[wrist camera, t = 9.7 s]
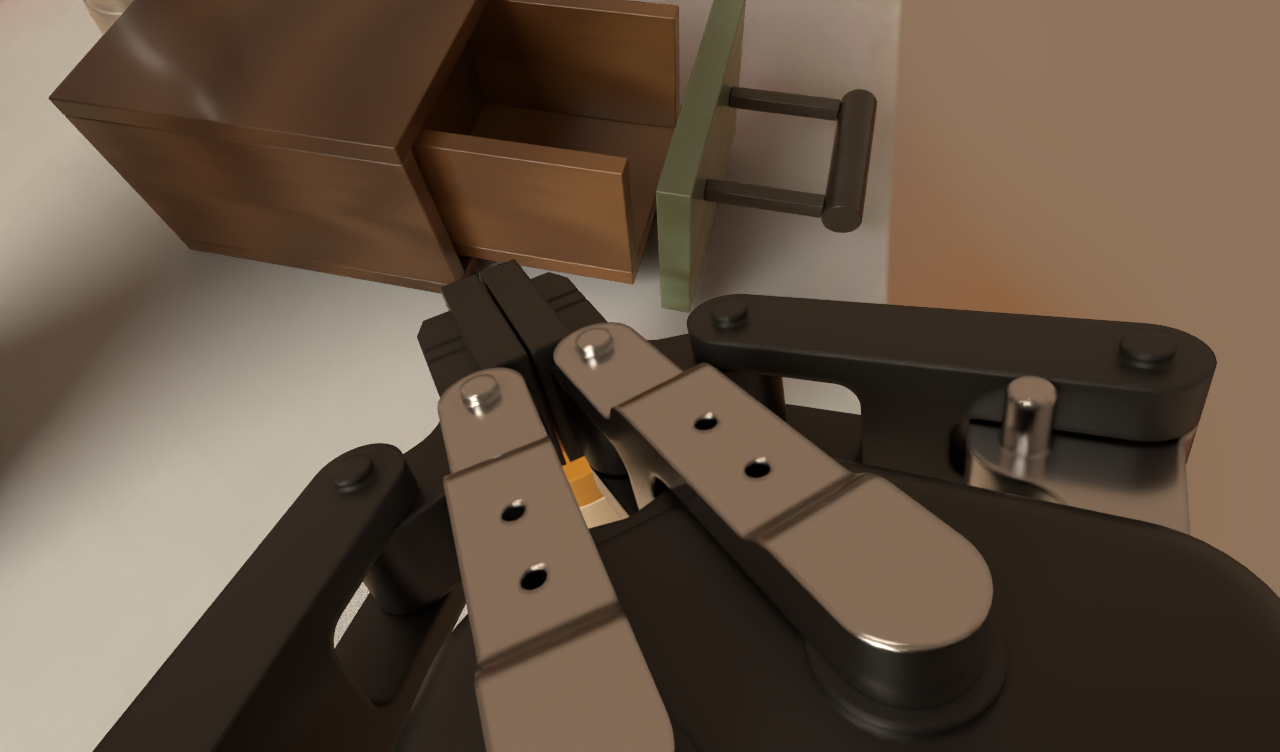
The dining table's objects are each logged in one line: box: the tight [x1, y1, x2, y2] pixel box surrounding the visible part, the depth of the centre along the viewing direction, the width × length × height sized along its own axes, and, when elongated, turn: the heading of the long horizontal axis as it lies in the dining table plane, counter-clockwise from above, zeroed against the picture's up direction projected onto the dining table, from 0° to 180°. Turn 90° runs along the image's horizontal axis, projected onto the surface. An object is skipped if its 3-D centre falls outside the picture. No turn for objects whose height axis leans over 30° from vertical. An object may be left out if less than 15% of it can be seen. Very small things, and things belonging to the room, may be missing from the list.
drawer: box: [411, 0, 877, 312], centre depth 29 cm, size 18×10×7 cm, turn 76°
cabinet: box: [49, 0, 489, 293], centre depth 31 cm, size 14×12×9 cm
